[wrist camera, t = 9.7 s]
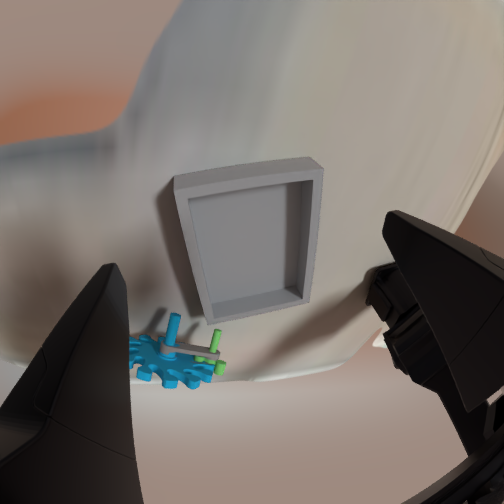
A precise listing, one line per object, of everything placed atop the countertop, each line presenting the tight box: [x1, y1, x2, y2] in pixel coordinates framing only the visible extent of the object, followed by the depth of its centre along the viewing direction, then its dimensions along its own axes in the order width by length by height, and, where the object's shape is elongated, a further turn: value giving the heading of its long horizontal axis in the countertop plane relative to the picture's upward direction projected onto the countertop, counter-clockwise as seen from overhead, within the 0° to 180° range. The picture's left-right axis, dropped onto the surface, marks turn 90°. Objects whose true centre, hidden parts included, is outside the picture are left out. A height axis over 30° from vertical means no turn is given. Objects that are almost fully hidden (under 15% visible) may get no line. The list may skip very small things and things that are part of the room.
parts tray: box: [174, 157, 324, 325], centre depth 24 cm, size 11×15×2 cm
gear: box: [129, 313, 226, 389], centre depth 26 cm, size 11×6×10 cm
